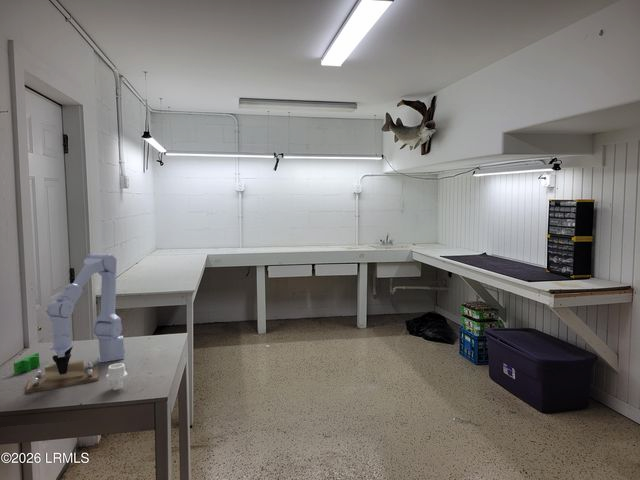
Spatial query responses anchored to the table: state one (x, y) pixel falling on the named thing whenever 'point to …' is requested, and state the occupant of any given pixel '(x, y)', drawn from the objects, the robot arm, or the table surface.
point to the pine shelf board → (73, 370)
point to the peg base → (62, 380)
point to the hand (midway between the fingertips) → (64, 370)
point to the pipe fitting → (116, 375)
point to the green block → (27, 364)
